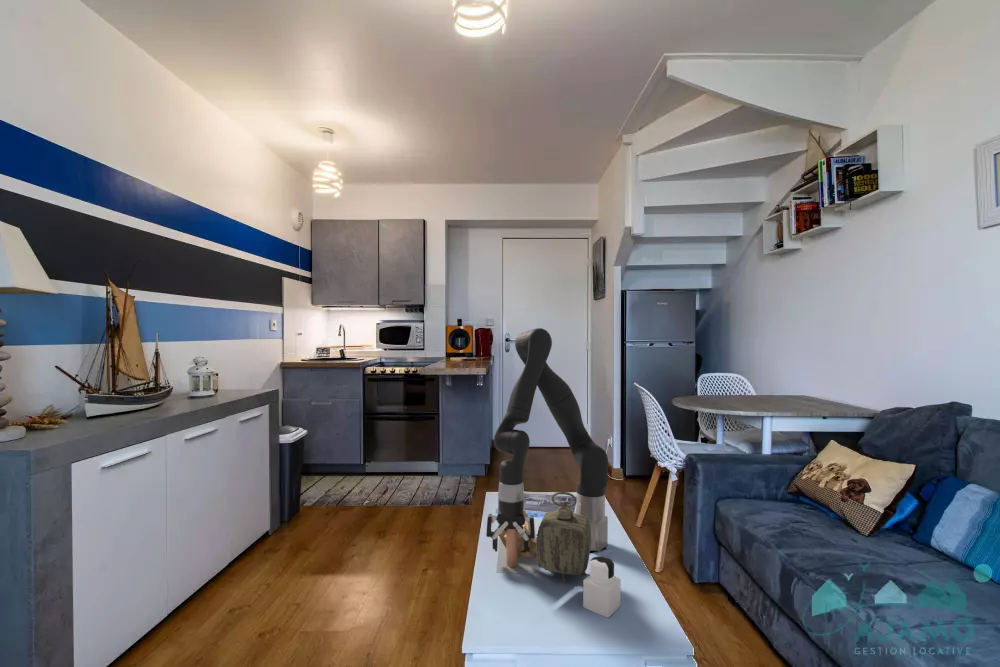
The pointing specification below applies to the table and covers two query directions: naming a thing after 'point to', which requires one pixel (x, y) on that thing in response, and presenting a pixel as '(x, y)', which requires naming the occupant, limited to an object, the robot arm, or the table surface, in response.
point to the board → (522, 562)
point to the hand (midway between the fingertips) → (510, 550)
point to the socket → (522, 541)
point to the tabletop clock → (564, 540)
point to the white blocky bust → (601, 587)
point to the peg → (511, 547)
